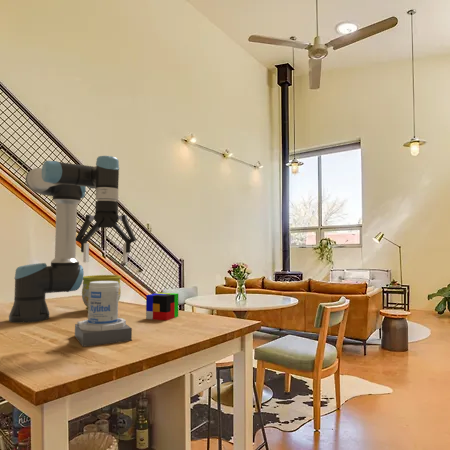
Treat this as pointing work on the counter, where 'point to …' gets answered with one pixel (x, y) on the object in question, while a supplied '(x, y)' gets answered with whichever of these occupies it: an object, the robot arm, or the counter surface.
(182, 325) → the counter surface
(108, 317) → the supplement tub
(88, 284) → the flowerpot
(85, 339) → the grey square ring block
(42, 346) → the counter surface
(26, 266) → the robot arm
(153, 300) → the puzzle toy
